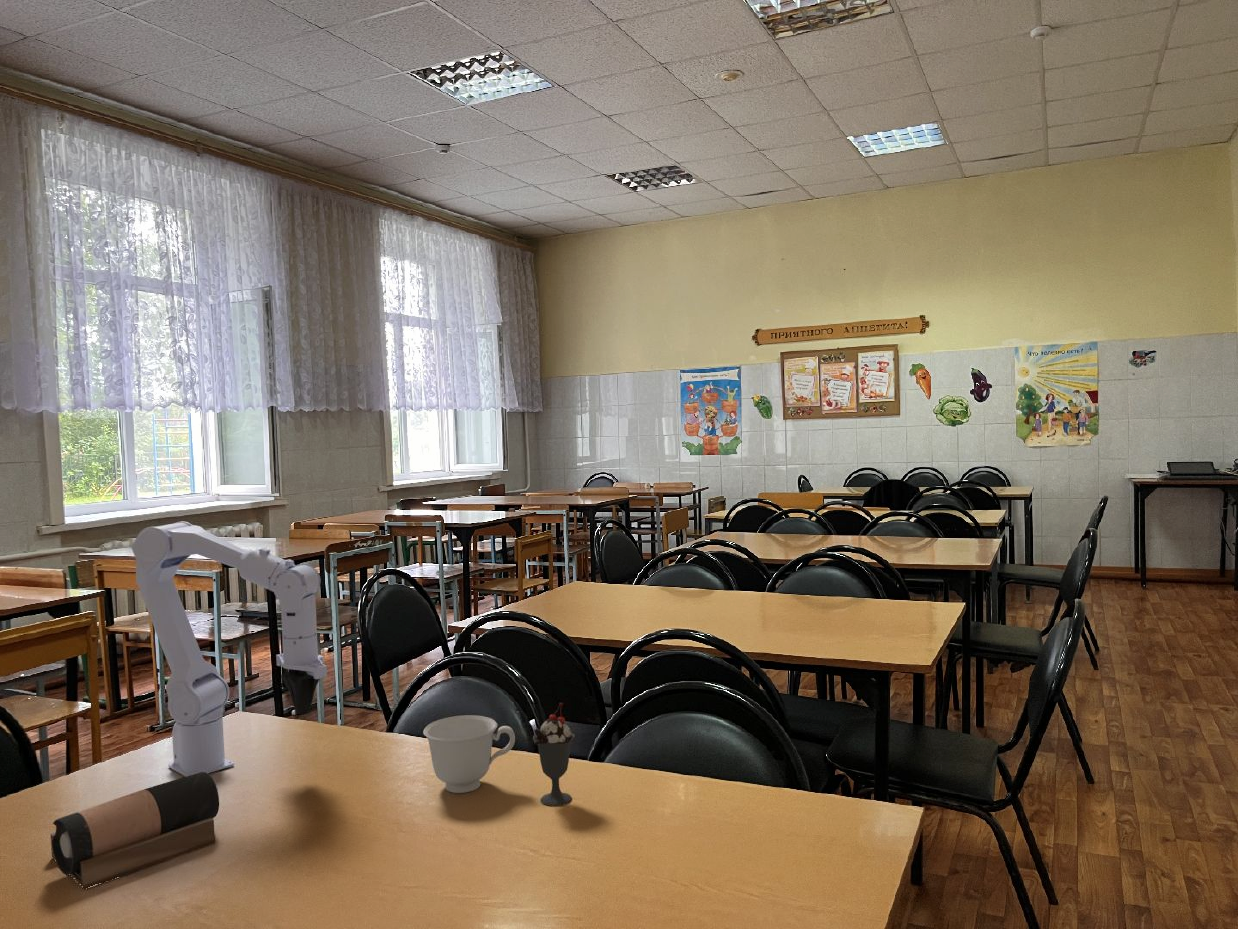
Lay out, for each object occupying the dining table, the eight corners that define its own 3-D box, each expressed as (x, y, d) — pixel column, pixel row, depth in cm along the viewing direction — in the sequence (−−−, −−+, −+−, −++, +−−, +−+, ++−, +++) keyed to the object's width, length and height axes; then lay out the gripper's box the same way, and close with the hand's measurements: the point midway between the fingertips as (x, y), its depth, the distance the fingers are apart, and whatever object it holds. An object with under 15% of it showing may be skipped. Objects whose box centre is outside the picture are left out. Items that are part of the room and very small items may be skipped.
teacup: (511, 800, 142) (509, 738, 142) (417, 802, 143) (415, 740, 142) (521, 771, 154) (519, 713, 154) (434, 773, 155) (432, 715, 154)
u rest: (51, 858, 128) (50, 834, 128) (176, 817, 140) (175, 795, 140) (84, 890, 118) (82, 864, 118) (215, 843, 131) (213, 819, 130)
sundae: (579, 791, 145) (576, 699, 144) (573, 809, 138) (570, 712, 138) (539, 791, 146) (536, 699, 145) (531, 808, 139) (527, 712, 138)
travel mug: (225, 815, 133) (77, 871, 118) (203, 824, 138) (58, 880, 122) (211, 764, 135) (64, 813, 119) (190, 775, 139) (46, 824, 124)
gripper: (341, 636, 155) (345, 714, 156) (301, 625, 165) (304, 698, 166) (303, 644, 150) (306, 725, 150) (263, 632, 160) (267, 708, 160)
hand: (303, 712), depth 158 cm, fingers closed
